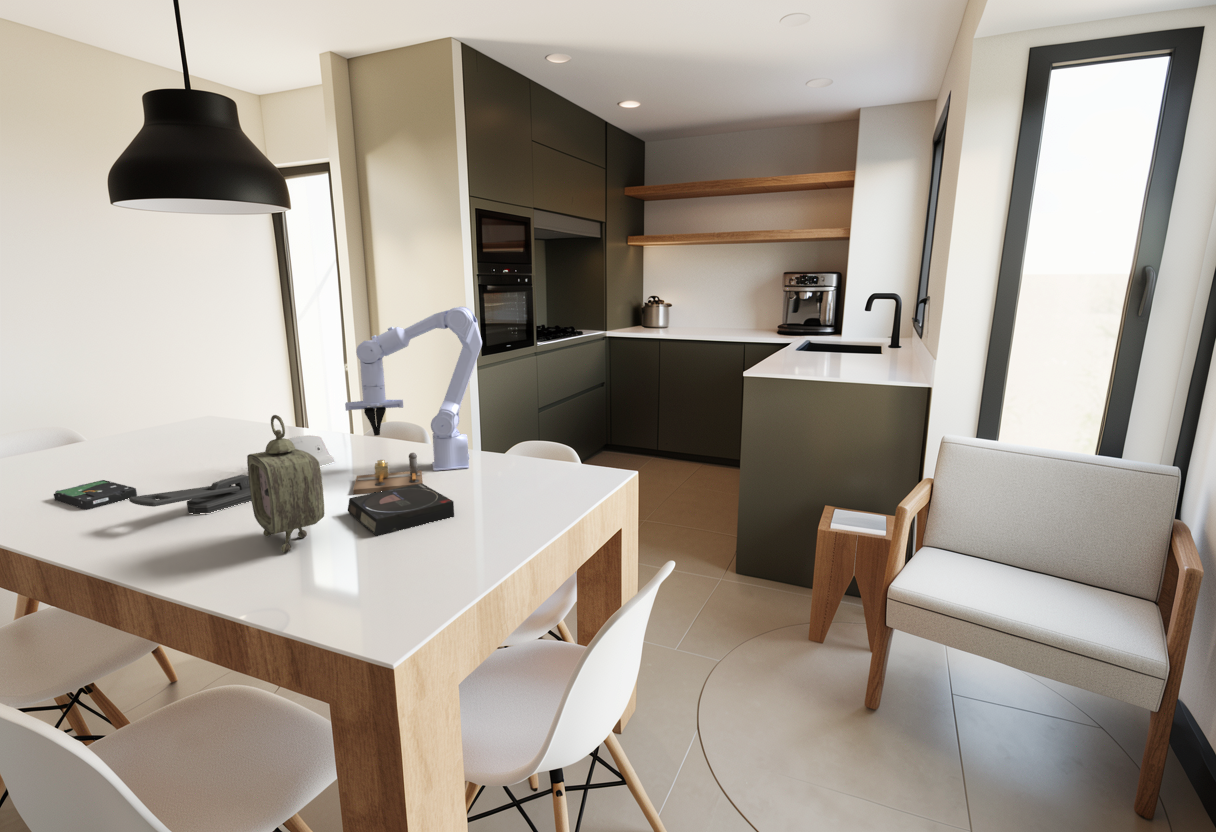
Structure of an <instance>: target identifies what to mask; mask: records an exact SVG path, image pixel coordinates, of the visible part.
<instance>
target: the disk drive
mask: <svg viewBox="0 0 1216 832" xmlns="http://www.w3.org/2000/svg"><path fill="white" fill-rule="evenodd" d="M135 496H138V492H137V488H136V487H133V486H129V485H125V484H121V483H117V482H113V481H111V480H104V479H102V480H97V481H94V482H88V483H83V484H79V485H76V486H73V487H69V488H65V489H61V490H59V489H57V490H55V492H54V493H53V498H54V501H56V502H59V503H63V504H65V505H69V506H73V507H76V508H78V509H81V510H85V511H89V510H92V509H95V508H100V507H103V506H107V505H111V504H115V502H116V503H119V502H118V501H120V502H123V501H126V500H125V499H127V500H129V499H128V498H130V497H135ZM122 500H123V501H122Z"/></svg>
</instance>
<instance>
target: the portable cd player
mask: <svg viewBox="0 0 1216 832" xmlns="http://www.w3.org/2000/svg"><path fill="white" fill-rule="evenodd" d="M454 503H455V502H454V500H452V499H450V498H448V497H447V496H445V495H443V494H441V493H440V492H438V491H437V490H434V489H432V488H431V487H429V486H427V485H426V484H424V483H423V484H422V483H420V484H416V485H411V486H406V487H401V488H396V489H391V490H386V491H382V492H376V493H366V494H361V495H359V496H353V497H349V499H348V505H347V506H348V507H347V512H348V513H349V515H350V516H352V517H353V518H354V519H356V521H358V522H359V523H360V524H361V525H363V526H364V527H365V528H366V529H367V530H369V531H370V532H371V533H372V534H373V535H374V536H376V537H380V536H384V535H387V534H392V533H396V532H400V531H403V529H404V530H408V529H411V527H412V528H416V527H420V526H423V524H424V525H427V524H426V523H428V524H430V523H429V522H432V523H435V522H434V521H436V522H439V521H438V520H440V521H443V520H442V519H444V520H447V518H448V519H451V518H450V517H452V518H455V507H454V506H455V505H454ZM419 525H420V526H419ZM415 526H416V527H415ZM399 530H400V531H399Z"/></svg>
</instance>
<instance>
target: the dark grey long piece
mask: <svg viewBox="0 0 1216 832" xmlns="http://www.w3.org/2000/svg"><path fill="white" fill-rule="evenodd" d="M128 500H129V503H131V504H135V505H138V506H143V507H160V506H165V505H170V504H175V503H179V502H180V503H181V502H185V501H186V507H187V512H188V514H189V513H193V514H200V513H211V512H214V511H217V510H221V509H224V508H228V507H231V506H234V505H238V504H241V503H244V504H247V503H246V502H248V503H250V502H249V501H251V502H252V500H251V493H250V486H249V477H248V474H247V475H246V474H239V475H235V476H231V477H227V478H223V479H221V480H218V481H215V482H213V483H212V484H211V485H207V486H201V487H195V488H188V489H187V488H186V489H180V490H179V489H178V490H173V491H166V492H159V493H151V494H143V495H142V494H141V495H137V496H135V497H130V498H129V499H128ZM241 505H242V504H241ZM238 506H239V505H238ZM234 507H235V506H234ZM231 508H232V507H231ZM228 509H229V508H228ZM224 510H225V509H224ZM221 511H222V510H221ZM193 514H192V515H193ZM211 514H212V513H211Z"/></svg>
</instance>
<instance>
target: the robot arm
mask: <svg viewBox="0 0 1216 832" xmlns="http://www.w3.org/2000/svg"><path fill="white" fill-rule="evenodd" d="M436 329H440V330H441V329H443V330H445V329H449V330H450V331H452V333H454V335H456V337H457V339H458V340H459V342H460V343H461V345H462V348H461V351H460V353H459V356H458V359H457V361H456V365H455V367H454V370H453V373H452V376H451V379H450V382H449V384H448V387H447V390H446V392H445V396H444V399H443V401H442V404H441V405H440V408H439V410H438V413H437V414H436V415H435V416H434V417H433V418H432V420H431V422H430V429H431V431H432V448H433V449H432V450H433V461H432V462H431V464H432V470H433V472H434V471H437V472H438V471H444V470H445V471H447V470H457V469H458V470H459V469H460V470H461V469H469V468H470V461H469V460H470V453H469V443H468V442H469V440H468V435H467V434H466V433H462V434H461V433H460V431H459V429H458V428H457V427H458V426H459V423H460V410H461V407H462V402H463V400H464V397H465V394H466V391H467V388H468V385H469V383H470V379H471V378H472V375H473V371H474V369H475V366H476V364H477V360H478V358H479V354H480V351H481V349H482V346H483V340H482V337H481V332H480V328H479V324H478V319H477V317H476V316H475V314H474V313H473V311H472V310H471V309H470V308H468V307H467V306H457V307H452V308H451V309H448V310H444V311H440V312H436V313H434V314H431V315H430V316H428V317H425V318H424V319H422V320H419V321H418V322H415V323H413V324H412V325H410V326H408V327H406V328H402V327H400V326H396V327H394V326H390V327H388V328H387V331H385V332H382V333H381V334H378V335H377V334H375V335H372V336H371V339H370V340H363V341H362V342H361V343H359V344H358V346H357V347H356V351H355V353H356V356H357V358H358V360H359V363H360V380H361V391H362V400H357V401H348V402H345V403H344V404H345V411H353V410H356V411H357V410H364V415H365V416H366V418H367V420H368V422H369V423H370V426H371V428H372V431H373V436H380V435H381V427H382V421H383V418H384V416H385V415H386V410H387V409H391V408H392V409H393V408H399V409H400V408H404V399H387V397H386V385H385V374H384V373H385V372H384V371H385V370H384V365H383V363H384V361H383V358H384V357H387V356H388V357H389V356H390V355H392V354H394V353H397V352H398V351H401V350H403V349H405V348H407V347H409V344H410V341H411V340H412V339H414V338H416V337H419V336H420V335H423V334H426V333H429V332H431V331H433V330H436Z"/></svg>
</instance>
